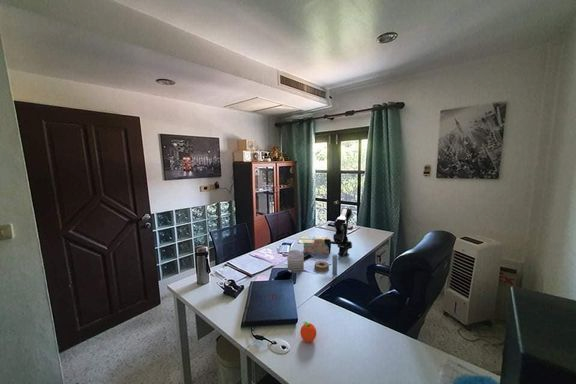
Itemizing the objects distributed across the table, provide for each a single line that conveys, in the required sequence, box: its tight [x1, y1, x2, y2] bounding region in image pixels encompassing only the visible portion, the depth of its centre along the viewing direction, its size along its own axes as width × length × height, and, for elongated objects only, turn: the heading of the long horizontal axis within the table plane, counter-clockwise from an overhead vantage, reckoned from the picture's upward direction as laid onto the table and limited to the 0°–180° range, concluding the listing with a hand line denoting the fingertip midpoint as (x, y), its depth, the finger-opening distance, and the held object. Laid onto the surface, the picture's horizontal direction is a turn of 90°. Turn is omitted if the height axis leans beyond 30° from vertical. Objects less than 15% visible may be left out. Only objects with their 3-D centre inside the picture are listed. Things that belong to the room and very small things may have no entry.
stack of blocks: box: [303, 236, 331, 255], centre depth 188 cm, size 21×6×12 cm, turn 85°
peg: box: [331, 254, 338, 276], centre depth 152 cm, size 3×3×12 cm
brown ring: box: [314, 260, 330, 273], centre depth 161 cm, size 10×10×3 cm
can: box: [286, 249, 305, 274], centre depth 160 cm, size 11×11×12 cm
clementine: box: [299, 321, 317, 343], centre depth 98 cm, size 8×7×7 cm
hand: (336, 254), depth 156 cm, fingers open, 9 cm apart
